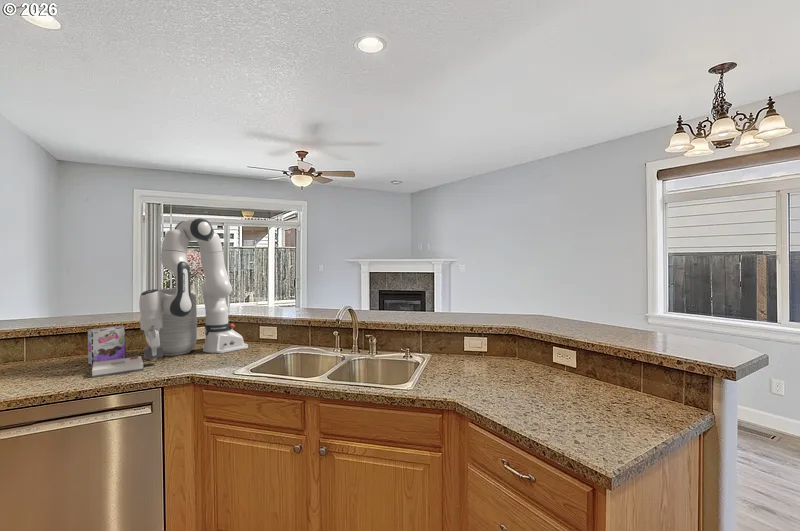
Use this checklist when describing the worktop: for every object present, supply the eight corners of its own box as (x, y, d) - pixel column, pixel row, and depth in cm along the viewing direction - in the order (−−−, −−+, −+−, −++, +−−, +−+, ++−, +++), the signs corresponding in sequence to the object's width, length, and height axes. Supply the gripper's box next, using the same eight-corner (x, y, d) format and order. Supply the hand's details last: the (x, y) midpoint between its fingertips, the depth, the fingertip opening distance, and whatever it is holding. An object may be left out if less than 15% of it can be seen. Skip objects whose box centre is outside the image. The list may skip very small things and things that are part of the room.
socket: (141, 362, 190) (140, 354, 190) (143, 370, 177) (143, 362, 177) (93, 368, 180) (93, 361, 179) (92, 377, 167) (92, 369, 167)
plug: (161, 358, 190) (160, 343, 190) (163, 360, 186) (162, 345, 186) (144, 360, 186) (143, 345, 186) (145, 363, 182) (144, 347, 181)
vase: (192, 346, 223) (191, 286, 223) (201, 353, 208) (200, 289, 207) (150, 352, 211) (149, 288, 210) (156, 359, 195) (155, 291, 194)
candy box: (91, 366, 184) (91, 330, 184) (87, 364, 188) (86, 329, 187) (126, 359, 195) (125, 326, 195) (121, 358, 199) (121, 325, 198)
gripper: (162, 327, 179) (164, 357, 180) (156, 320, 195) (158, 348, 196) (146, 329, 175) (147, 360, 176) (141, 322, 191) (143, 351, 192)
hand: (153, 354), depth 186 cm, fingers closed on plug, 5 cm apart
